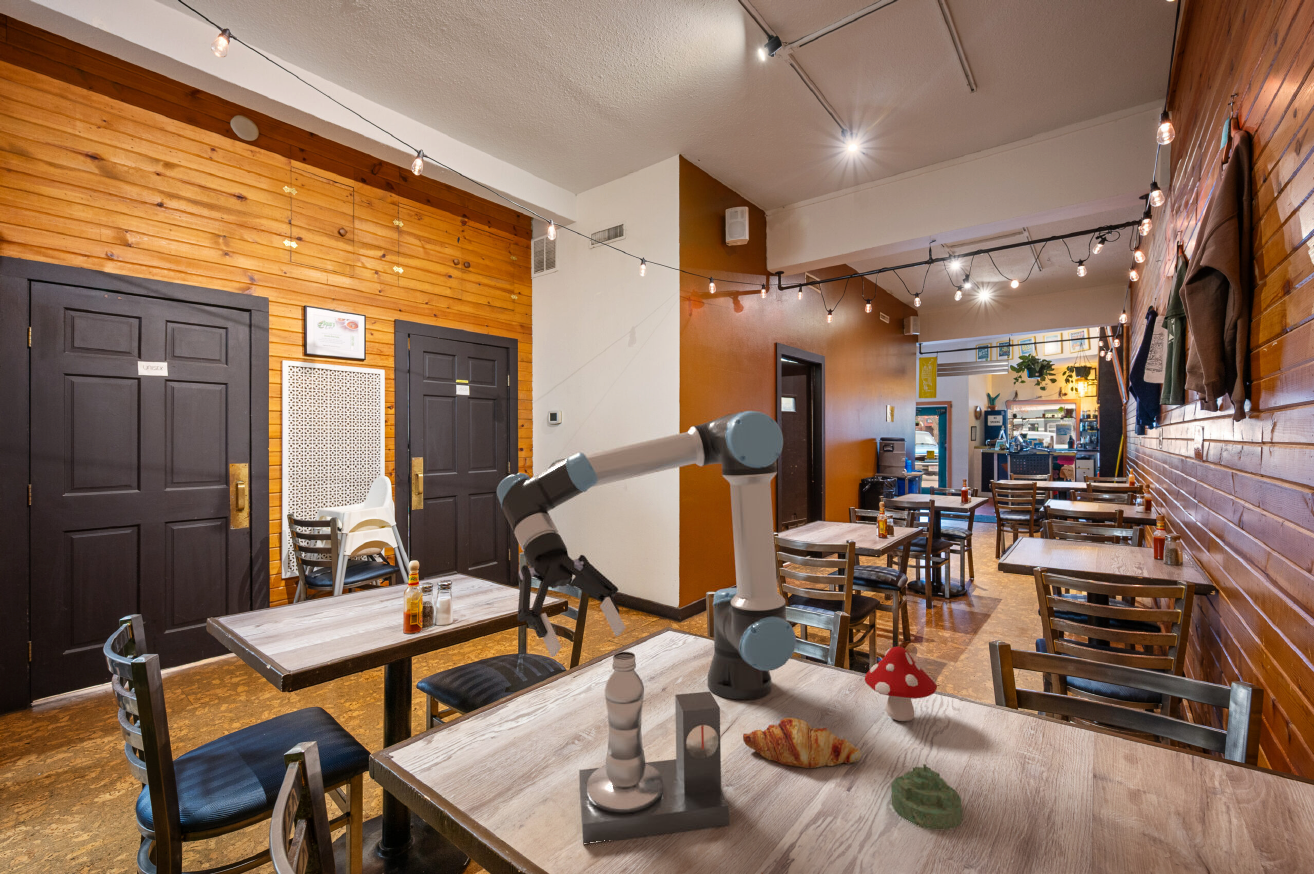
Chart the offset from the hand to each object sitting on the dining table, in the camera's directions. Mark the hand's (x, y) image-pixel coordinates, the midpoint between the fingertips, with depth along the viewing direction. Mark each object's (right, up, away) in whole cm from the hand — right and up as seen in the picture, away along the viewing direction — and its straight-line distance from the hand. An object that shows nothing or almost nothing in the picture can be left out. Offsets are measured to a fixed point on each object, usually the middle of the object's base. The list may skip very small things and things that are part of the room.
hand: (590, 641), depth 97 cm
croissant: (+38, -24, +8) cm, 46 cm away
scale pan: (+6, -21, -6) cm, 23 cm away
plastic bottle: (+6, -20, -6) cm, 22 cm away
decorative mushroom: (+62, -24, +22) cm, 70 cm away
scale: (+10, -24, -6) cm, 27 cm away
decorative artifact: (+54, -24, -7) cm, 59 cm away
